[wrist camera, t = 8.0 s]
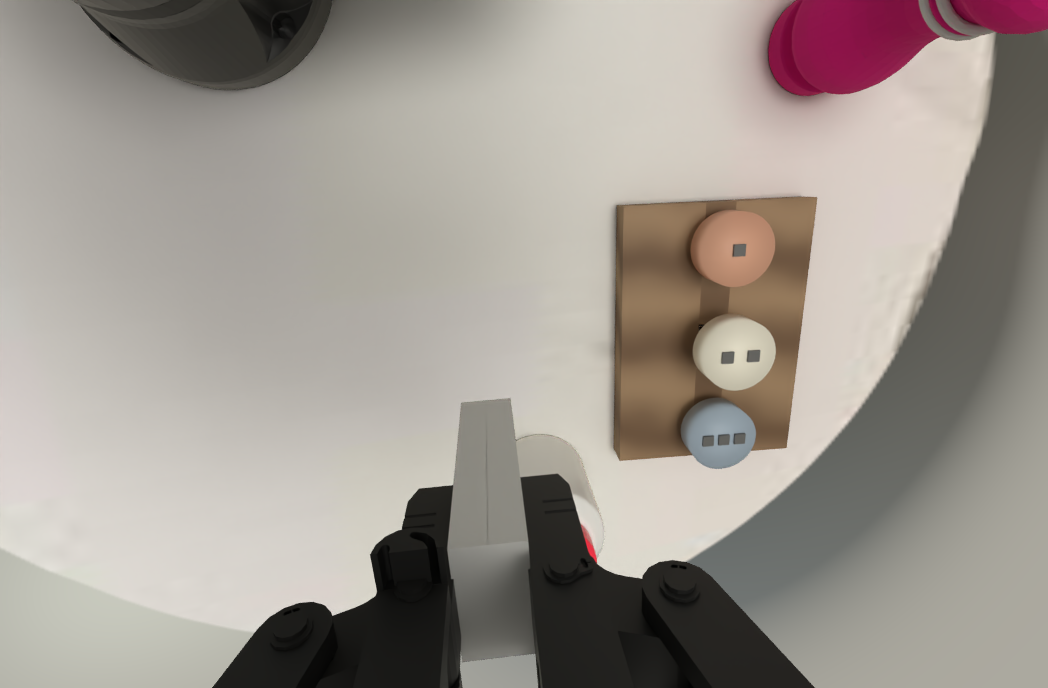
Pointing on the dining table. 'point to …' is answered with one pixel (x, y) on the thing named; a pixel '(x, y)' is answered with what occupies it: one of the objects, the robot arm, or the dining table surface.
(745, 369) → the button
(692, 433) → the button
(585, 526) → the pill bottle
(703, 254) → the button
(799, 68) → the pepper mill
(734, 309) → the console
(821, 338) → the dining table surface
